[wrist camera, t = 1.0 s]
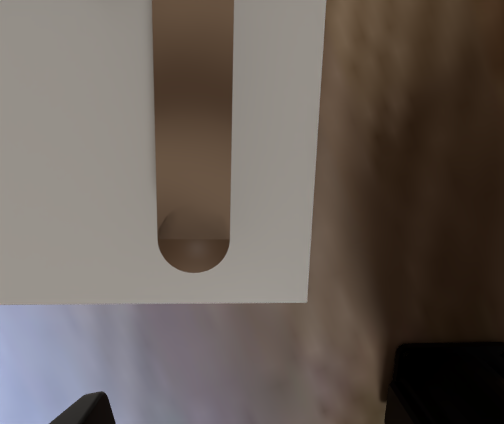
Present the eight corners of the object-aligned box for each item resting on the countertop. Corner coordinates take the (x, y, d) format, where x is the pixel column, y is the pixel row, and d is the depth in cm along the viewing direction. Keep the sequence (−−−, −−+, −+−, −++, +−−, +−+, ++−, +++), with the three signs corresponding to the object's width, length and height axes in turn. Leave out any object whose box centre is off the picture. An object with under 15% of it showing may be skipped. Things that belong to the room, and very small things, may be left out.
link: (134, -228, 15) (123, -279, 13) (255, -217, 16) (260, -265, 14) (149, 257, 19) (141, 272, 17) (242, 257, 20) (245, 272, 18)
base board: (340, -306, 16) (347, -327, 15) (303, 295, 22) (306, 302, 21) (-321, -382, 14) (-353, -411, 13) (-172, 298, 20) (-188, 306, 19)
